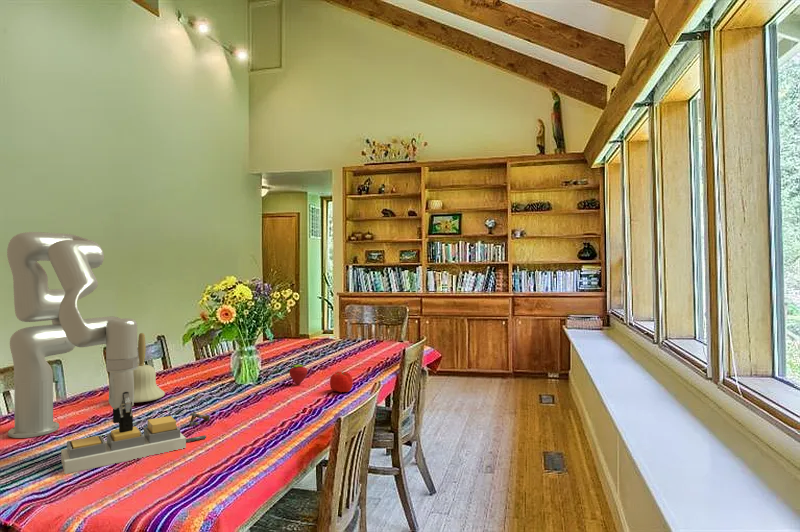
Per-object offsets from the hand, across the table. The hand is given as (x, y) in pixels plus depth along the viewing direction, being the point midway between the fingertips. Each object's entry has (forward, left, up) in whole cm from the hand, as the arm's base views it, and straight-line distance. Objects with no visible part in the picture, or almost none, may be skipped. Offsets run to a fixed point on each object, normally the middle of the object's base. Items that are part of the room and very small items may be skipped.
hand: (122, 426), depth 141 cm
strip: (+5, +3, -6) cm, 9 cm away
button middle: (+5, 0, -2) cm, 5 cm away
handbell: (-50, +14, -6) cm, 53 cm away
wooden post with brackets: (-10, +23, -7) cm, 27 cm away
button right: (+5, +9, -1) cm, 10 cm away
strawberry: (-38, +71, -6) cm, 81 cm away
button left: (+5, -9, -3) cm, 11 cm away
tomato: (-18, +80, -7) cm, 83 cm away
